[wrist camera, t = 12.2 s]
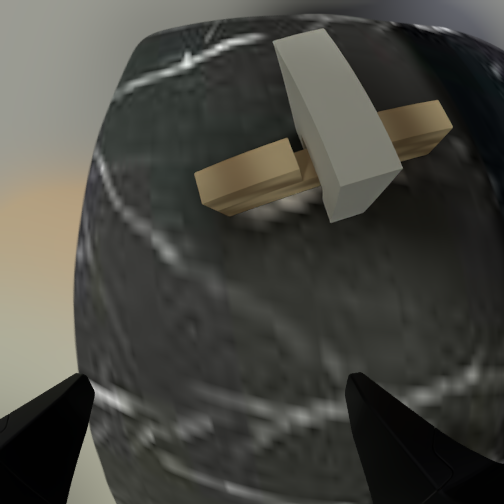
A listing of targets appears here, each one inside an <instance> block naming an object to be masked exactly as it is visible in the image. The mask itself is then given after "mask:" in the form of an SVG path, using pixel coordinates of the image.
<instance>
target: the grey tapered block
mask: <svg viewBox="0 0 504 504" xmlns="http://www.w3.org/2000/svg"><path fill="white" fill-rule="evenodd" d="M273 44H274V47H275V51H276V54H277V58H278V61H279V65H280V68H281V72H282V76H283V79H284V83H285V87H286V91H287V95H288V99H289V103H290V107H291V111H292V115H293V120H294V124H295V128H296V132H297V134H298V136H299V139H300V141H301V144H302V146H303V149H307V150H308V152H309V155H310V158H311V160H312V163H313V165H314V168H315V171H316V173H317V176H318V179H319V181H320V184H321V187H322V189H323V196H322V200H323V203H324V206H325V209H326V211H327V214H328V217H329V220H330V223H333V222H336V221H339V220H342V219H345V218H348V217H352V216H355V215H358V214H361V213H364V212H365V211H366V210H367V208H368V207H369V206H370V205H371V204H372V203H373V202H374V201H375V200H376V199H377V197H378V196H379V195H380V194H381V193H382V192H383V191H384V190H385V188H386V187H387V186H388V185H389V184H390V183H391V182H392V180H393V179H394V178H395V177H396V176H397V175H398V174H399V172H400V171H401V170H402V169H403V167H402V165H401V162H400V160H399V158H398V155H397V153H396V151H395V148H394V146H393V144H392V142H391V140H390V138H389V136H388V133H387V131H386V129H385V127H384V125H383V123H382V121H381V119H380V117H379V115H378V114H377V112H376V110H375V108H374V106H373V104H372V102H371V101H370V99H369V97H368V95H367V93H366V92H365V90H364V88H363V86H362V85H361V83H360V81H359V80H358V78H357V76H356V75H355V73H354V72H353V70H352V68H351V67H350V65H349V64H348V62H347V61H346V59H345V58H344V56H343V55H342V53H341V52H340V50H339V49H338V47H337V46H336V45H335V43H334V42H333V40H332V39H331V38H330V36H329V35H328V33H327V32H326V31H325V29H324V28H323V29H318V30H314V31H309V32H305V33H301V34H297V35H293V36H289V37H286V38H282V39H279V40H275V41H273Z"/></svg>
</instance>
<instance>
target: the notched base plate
mask: <svg viewBox="0 0 504 504" xmlns="http://www.w3.org/2000/svg"><path fill="white" fill-rule="evenodd" d="M377 114H378V115H379V117H380V119H381V121H382V123H383V125H384V127H385V129H386V131H387V133H388V136H389V138H390V140H391V142H392V144H393V146H394V148H395V151H396V153H397V155H398V158H399V160H400V162H401V161H405V160H409V159H412V158H416V157H420V156H423V155H427V154H429V153H430V152H431V151H432V150H433V148H434V147H435V146H436V145H437V144H438V143H439V142H440V141H441V140H442V139H443V138H444V137H445V136H446V135H447V133H448V132H449V131H450V130H451V129H452V128H453V126H452V124H451V122H450V121H449V119H448V117H447V115H446V113H445V111H444V109H443V108H442V106H441V104H440V102H439V101H438V100H435V101H429V102H424V103H418V104H413V105H408V106H403V107H398V108H393V109H389V110H384V111H380V112H377ZM194 174H195V178H196V182H197V186H198V190H199V194H200V198H201V201H202V204H203V205H205V206H207V207H210V208H212V209H214V210H216V211H218V212H220V213H223V214H225V215H227V216H229V217H230V216H233V215H236V214H238V213H241V212H244V211H247V210H250V209H252V208H255V207H258V206H261V205H264V204H267V203H270V202H273V201H276V200H279V199H282V198H285V197H288V196H291V195H294V194H297V193H300V192H303V191H306V190H309V189H312V188H315V187H318V186H321V184H320V181H319V179H318V176H317V173H316V171H315V168H314V165H313V163H312V160H311V158H310V155H309V152H308V150H307V149H304V150H301V151H298V152H295V153H293V150H292V148H291V145H290V143H289V140H288V138H285V139H282V140H279V141H276V142H273V143H270V144H267V145H265V146H262V147H259V148H256V149H254V150H251V151H248V152H246V153H243V154H240V155H238V156H235V157H232V158H230V159H227V160H225V161H222V162H220V163H217V164H215V165H213V166H210V167H208V168H205V169H203V170H201V171H198V172H196V173H194Z"/></svg>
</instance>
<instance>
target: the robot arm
mask: <svg viewBox="0 0 504 504" xmlns="http://www.w3.org/2000/svg"><path fill="white" fill-rule="evenodd" d="M94 397H95V392H94V389H93V387H92V385H91V383H90V381H89V379H88V377H87V376H86V375H84V374H79V373H75V374H74V375H72V376H70V377H69V378H67V379H65V380H64V381H62V382H61V383H59V384H57V385H56V386H54V387H53V388H51V389H49V390H48V391H46V392H44V393H43V394H41V395H39V396H38V397H36V398H35V399H33V400H31V401H30V402H28V403H26V404H25V405H23V406H21V407H20V408H18V409H17V410H15V411H13V412H11V413H10V414H8V415H6V416H5V417H3V418H1V419H0V504H66V503H67V499H68V494H69V490H70V486H71V482H72V478H73V475H74V471H75V467H76V464H77V460H78V457H79V454H80V450H81V447H82V444H83V441H84V437H85V434H86V431H87V427H88V423H89V418H90V414H91V410H92V405H93V401H94ZM345 398H346V403H347V408H348V413H349V419H350V424H351V429H352V434H353V438H354V441H355V444H356V448H357V451H358V454H359V457H360V460H361V463H362V467H363V470H364V473H365V476H366V480H367V483H368V486H369V490H370V493H371V496H372V500H373V503H374V504H504V464H502V463H497V462H495V461H492V460H490V459H488V458H486V457H484V456H482V455H480V454H478V453H476V452H474V451H472V450H470V449H468V448H467V447H465V446H463V445H461V444H460V443H458V442H456V441H454V440H453V439H451V438H450V437H448V436H447V435H445V434H444V433H443V432H441V431H440V430H438V429H437V428H435V429H434V426H433V425H431V424H430V423H429V422H427V421H426V420H424V419H423V418H422V417H420V416H419V415H418V414H416V413H415V412H414V411H412V410H411V409H410V408H408V407H407V406H406V405H404V404H403V403H401V402H400V401H399V400H397V399H396V398H395V397H393V396H392V395H391V394H390V393H388V392H387V391H386V390H384V389H383V388H382V387H380V386H379V385H378V384H376V383H375V382H374V381H372V380H371V379H370V378H369V377H367V376H366V375H365V374H363V373H361V372H358V373H352V374H350V375H349V376H348V380H347V385H346V390H345Z"/></svg>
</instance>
